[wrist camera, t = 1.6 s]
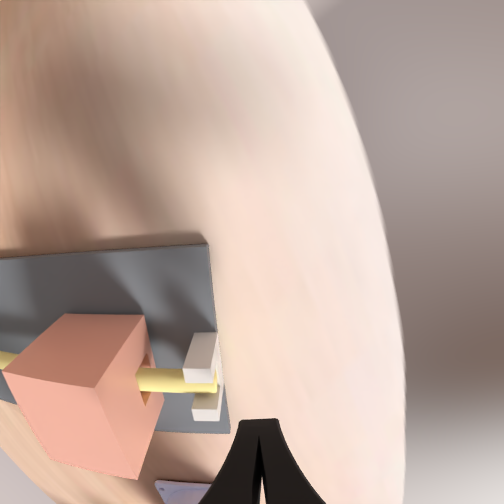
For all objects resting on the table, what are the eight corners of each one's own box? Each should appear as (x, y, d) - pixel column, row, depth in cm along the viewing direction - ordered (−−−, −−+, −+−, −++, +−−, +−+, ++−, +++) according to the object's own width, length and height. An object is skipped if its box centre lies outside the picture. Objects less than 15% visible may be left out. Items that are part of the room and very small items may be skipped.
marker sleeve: (164, 399, 16) (137, 479, 10) (91, 392, 16) (50, 459, 11) (144, 314, 15) (94, 388, 9) (64, 313, 15) (1, 370, 9)
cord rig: (232, 427, 18) (228, 479, 14) (-27, 385, 18) (-51, 409, 14) (210, 243, 15) (194, 272, 11) (-69, 263, 15) (-103, 279, 11)
